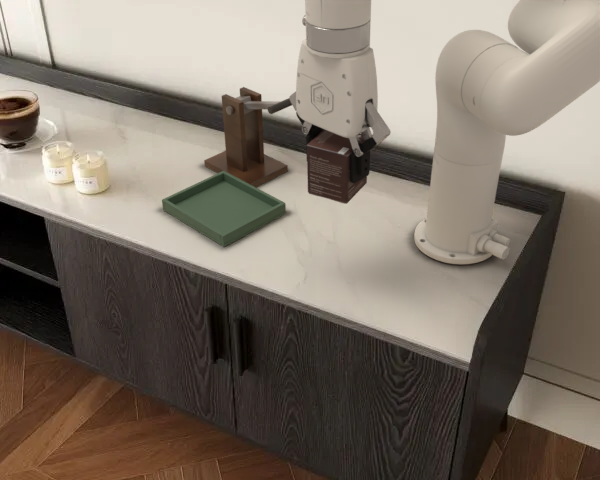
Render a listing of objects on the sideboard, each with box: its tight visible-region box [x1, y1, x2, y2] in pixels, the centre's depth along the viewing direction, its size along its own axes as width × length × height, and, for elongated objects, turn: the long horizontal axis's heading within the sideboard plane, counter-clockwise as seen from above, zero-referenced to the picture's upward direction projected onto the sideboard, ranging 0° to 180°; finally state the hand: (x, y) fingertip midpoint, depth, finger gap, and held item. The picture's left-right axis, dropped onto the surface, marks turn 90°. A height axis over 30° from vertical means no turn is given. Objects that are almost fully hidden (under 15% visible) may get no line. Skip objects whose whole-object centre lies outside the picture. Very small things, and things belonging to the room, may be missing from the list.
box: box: [306, 130, 368, 205], centre depth 100 cm, size 6×6×7 cm
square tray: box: [161, 171, 287, 248], centre depth 123 cm, size 15×13×2 cm
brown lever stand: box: [203, 86, 289, 188], centre depth 130 cm, size 12×9×14 cm
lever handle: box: [235, 95, 293, 115], centre depth 124 cm, size 12×5×2 cm, turn 45°
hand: (337, 168), depth 100 cm, fingers closed on box, 6 cm apart
